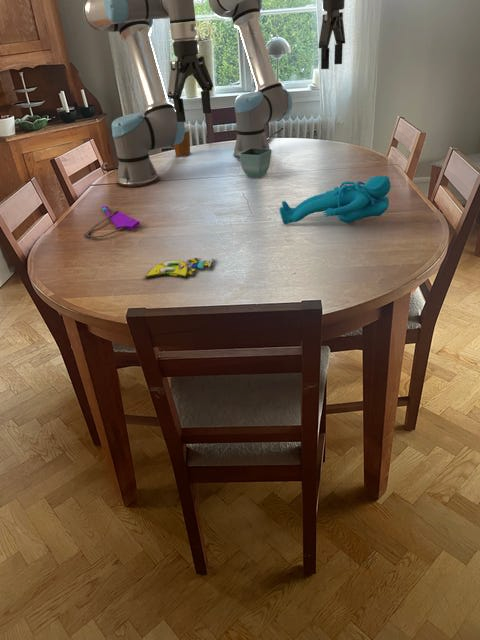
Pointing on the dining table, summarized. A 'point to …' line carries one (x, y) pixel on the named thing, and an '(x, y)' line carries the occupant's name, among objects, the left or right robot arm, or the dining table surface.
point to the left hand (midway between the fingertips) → (194, 117)
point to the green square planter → (255, 161)
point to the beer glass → (184, 143)
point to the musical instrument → (117, 221)
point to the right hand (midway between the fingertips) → (331, 66)
